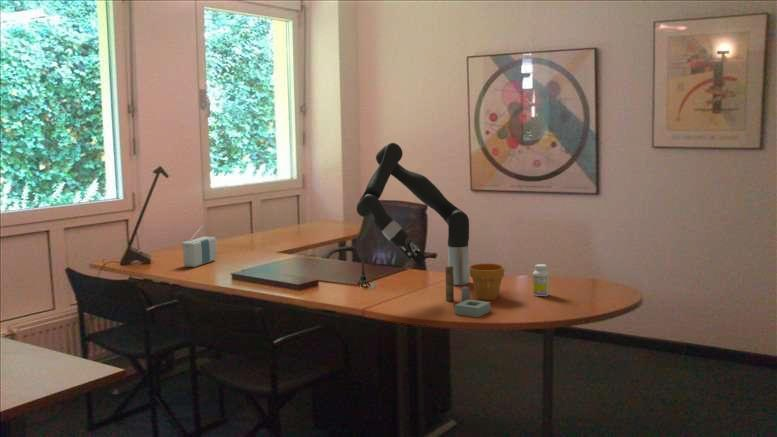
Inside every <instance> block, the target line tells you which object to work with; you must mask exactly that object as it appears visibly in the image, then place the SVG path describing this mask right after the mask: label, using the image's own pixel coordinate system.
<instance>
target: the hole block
mask: <svg viewBox="0 0 777 437" xmlns="http://www.w3.org/2000/svg"><path fill="white" fill-rule="evenodd" d="M489 312H491V302H490V301H483V300H477V299H476V300H474V299H470V300H469V299H467V300H465V301H463V302H462V301H461V302H459V303H456V304H455V305H454V313H455V315H459V316H460V315H461V316H469V317H475V318H480V317H482V316H484V315H485V314H487V313H489Z"/></svg>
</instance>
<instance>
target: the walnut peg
mask: <svg viewBox="0 0 777 437" xmlns="http://www.w3.org/2000/svg"><path fill="white" fill-rule="evenodd" d="M454 286H455V285H454V281H453V267H452V266H448V265H447V266H445V301H446V302H454V300H455V297H454V296H455V295H454V294H455V291H454V290H455V287H454Z"/></svg>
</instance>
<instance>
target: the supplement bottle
mask: <svg viewBox="0 0 777 437" xmlns="http://www.w3.org/2000/svg"><path fill="white" fill-rule="evenodd" d="M534 266H535V267H534V269H535V270H534V271H533V272H532V295H533V296H534V295H535V297H538V296H545V297H547V296H550V272H549V271H548V270H547V268H548V267H547V266H548V265H547V264H544V263H543V264H542V263H541V264H540V263H538V264H535V265H534Z"/></svg>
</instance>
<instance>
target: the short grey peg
mask: <svg viewBox="0 0 777 437" xmlns="http://www.w3.org/2000/svg"><path fill="white" fill-rule="evenodd" d="M470 290H471V289H470V287H469V286H462V287H461V302H463V301H465V300H467V299H469V300H471V299H470V298H471V297H470V293H471V292H470Z"/></svg>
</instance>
